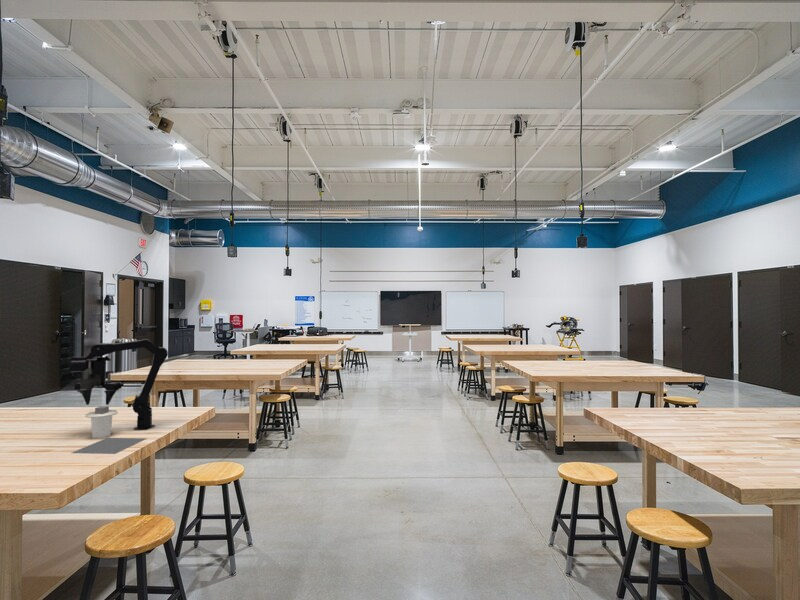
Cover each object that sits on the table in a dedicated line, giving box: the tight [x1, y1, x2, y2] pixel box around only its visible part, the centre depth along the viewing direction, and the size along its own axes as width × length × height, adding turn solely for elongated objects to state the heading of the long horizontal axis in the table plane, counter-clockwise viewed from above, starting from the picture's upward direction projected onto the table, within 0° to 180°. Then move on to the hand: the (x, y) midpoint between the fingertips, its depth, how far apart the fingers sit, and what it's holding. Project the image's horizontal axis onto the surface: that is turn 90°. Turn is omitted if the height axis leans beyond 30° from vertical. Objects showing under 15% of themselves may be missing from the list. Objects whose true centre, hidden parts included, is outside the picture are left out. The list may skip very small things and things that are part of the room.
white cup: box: [90, 415, 113, 439], centre depth 190 cm, size 8×8×10 cm
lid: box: [84, 405, 119, 419], centre depth 190 cm, size 12×12×3 cm
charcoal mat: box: [71, 437, 148, 455], centre depth 177 cm, size 20×18×1 cm
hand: (97, 404), depth 196 cm, fingers open, 9 cm apart
